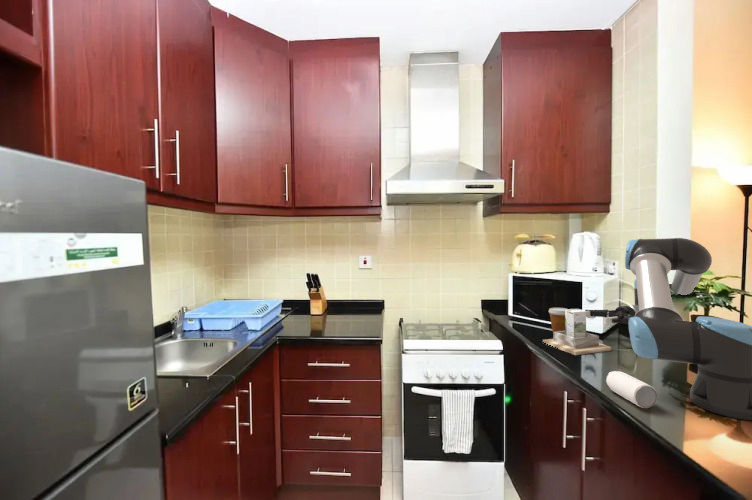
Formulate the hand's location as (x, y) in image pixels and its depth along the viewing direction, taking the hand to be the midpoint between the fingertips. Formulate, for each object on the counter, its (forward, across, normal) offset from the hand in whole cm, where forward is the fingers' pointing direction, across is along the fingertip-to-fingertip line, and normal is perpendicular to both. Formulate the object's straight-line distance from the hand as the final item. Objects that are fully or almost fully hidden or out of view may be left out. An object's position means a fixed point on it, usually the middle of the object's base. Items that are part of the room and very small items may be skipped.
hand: (590, 318), depth 148 cm
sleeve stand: (+8, 0, -12) cm, 14 cm away
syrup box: (+8, 0, -10) cm, 13 cm away
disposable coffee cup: (-2, +20, -12) cm, 23 cm away
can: (+35, -50, -8) cm, 62 cm away
